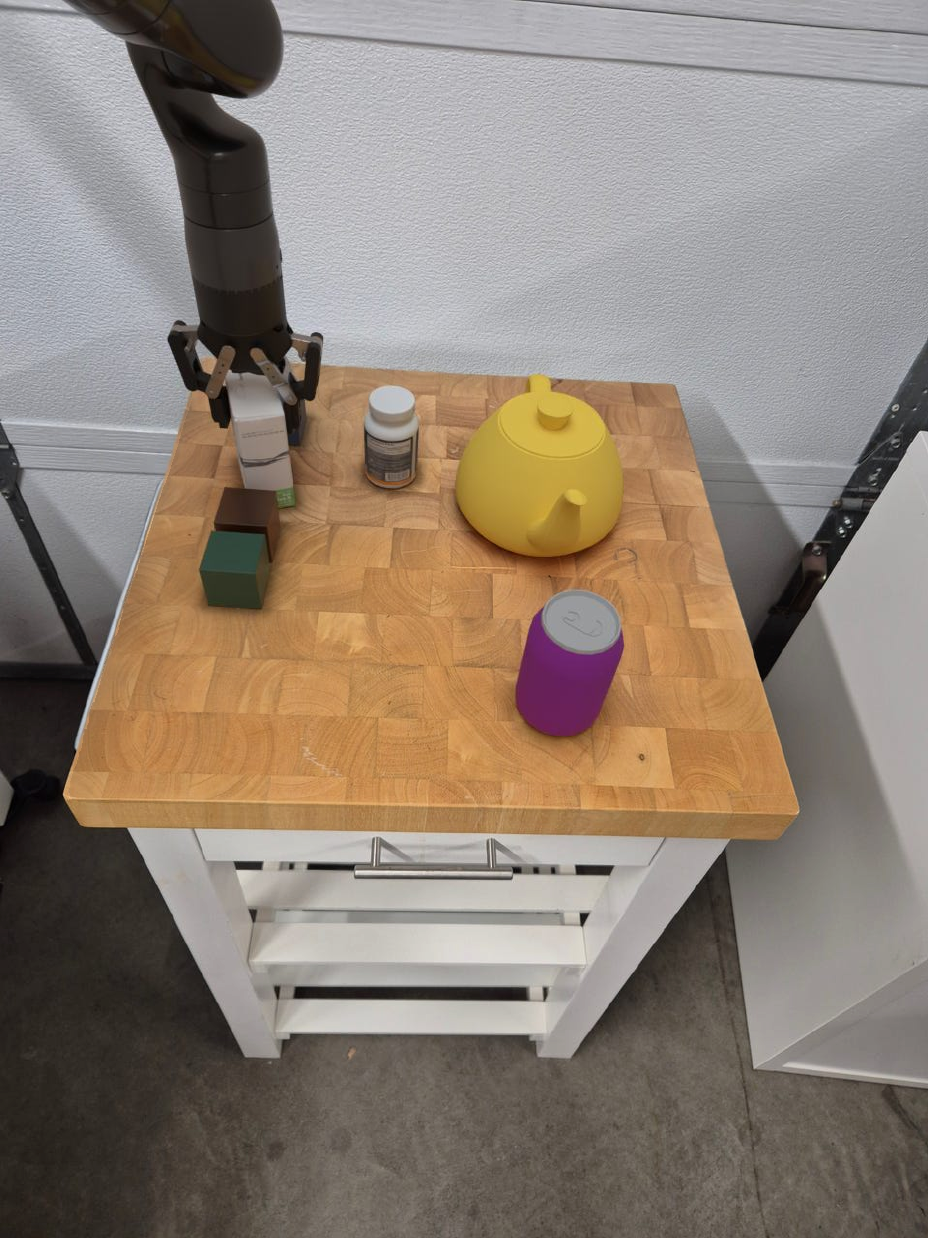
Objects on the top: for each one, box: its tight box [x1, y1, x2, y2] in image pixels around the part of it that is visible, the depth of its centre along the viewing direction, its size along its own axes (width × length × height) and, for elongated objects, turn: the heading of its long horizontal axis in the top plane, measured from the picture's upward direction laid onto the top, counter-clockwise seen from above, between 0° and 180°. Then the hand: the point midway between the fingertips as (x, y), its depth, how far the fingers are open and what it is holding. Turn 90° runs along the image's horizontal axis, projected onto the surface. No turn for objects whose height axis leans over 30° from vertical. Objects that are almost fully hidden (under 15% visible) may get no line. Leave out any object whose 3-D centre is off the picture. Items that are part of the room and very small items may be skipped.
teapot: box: [454, 373, 625, 558], centre depth 82 cm, size 25×18×14 cm
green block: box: [198, 530, 271, 610], centre depth 76 cm, size 5×5×5 cm
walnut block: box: [213, 486, 282, 563], centre depth 80 cm, size 5×5×5 cm
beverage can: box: [515, 588, 625, 737], centre depth 68 cm, size 8×8×12 cm
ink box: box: [224, 370, 296, 509], centre depth 83 cm, size 9×5×12 cm, turn 17°
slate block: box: [279, 393, 307, 447], centre depth 91 cm, size 5×5×5 cm
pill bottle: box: [363, 384, 420, 489], centre depth 86 cm, size 6×6×10 cm
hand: (258, 425), depth 81 cm, fingers closed on ink box, 6 cm apart
